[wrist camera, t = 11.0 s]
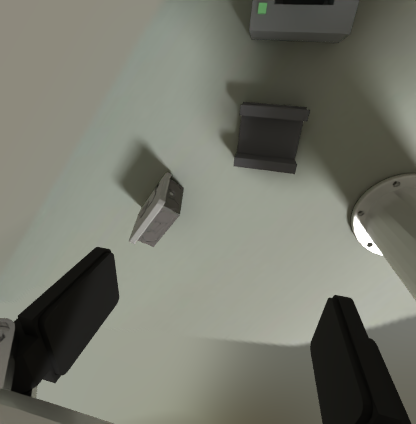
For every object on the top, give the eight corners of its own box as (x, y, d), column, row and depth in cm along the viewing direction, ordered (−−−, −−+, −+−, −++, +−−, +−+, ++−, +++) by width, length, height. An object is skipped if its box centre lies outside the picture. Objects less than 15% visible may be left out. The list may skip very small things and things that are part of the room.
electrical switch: (168, 169, 39) (147, 192, 31) (194, 188, 40) (180, 215, 32) (141, 207, 44) (117, 236, 36) (165, 223, 45) (147, 256, 37)
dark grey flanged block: (305, 107, 31) (310, 108, 28) (291, 167, 35) (294, 175, 31) (243, 102, 33) (241, 102, 29) (236, 160, 36) (233, 167, 33)
